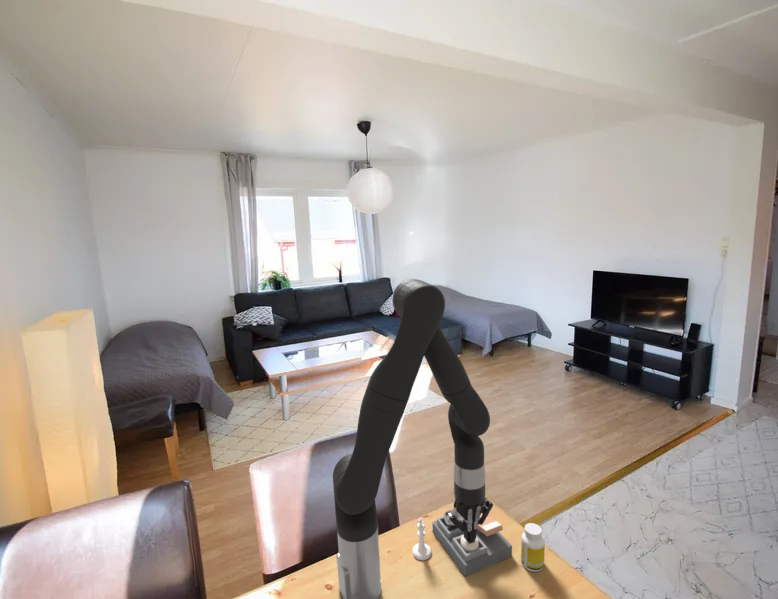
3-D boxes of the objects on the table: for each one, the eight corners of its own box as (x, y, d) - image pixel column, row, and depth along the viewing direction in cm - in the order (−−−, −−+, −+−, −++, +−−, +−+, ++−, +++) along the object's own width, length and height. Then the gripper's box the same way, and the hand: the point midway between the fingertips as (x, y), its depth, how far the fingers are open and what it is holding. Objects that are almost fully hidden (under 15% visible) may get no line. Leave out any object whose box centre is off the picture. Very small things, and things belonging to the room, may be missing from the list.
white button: (467, 556, 99) (467, 549, 98) (457, 544, 103) (457, 537, 102) (482, 550, 100) (482, 543, 100) (471, 538, 104) (471, 531, 104)
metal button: (449, 530, 106) (449, 523, 105) (441, 519, 110) (441, 513, 109) (464, 524, 107) (463, 518, 107) (455, 514, 111) (455, 508, 111)
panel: (465, 576, 97) (465, 560, 96) (432, 531, 112) (432, 517, 111) (511, 556, 102) (512, 540, 102) (474, 515, 117) (474, 501, 116)
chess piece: (424, 563, 101) (423, 528, 99) (408, 554, 104) (407, 520, 102) (434, 550, 105) (434, 516, 103) (419, 542, 108) (417, 509, 106)
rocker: (486, 536, 102) (486, 531, 102) (465, 518, 111) (464, 513, 111) (502, 529, 104) (502, 524, 104) (480, 513, 113) (479, 508, 113)
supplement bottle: (548, 566, 99) (550, 531, 97) (533, 576, 96) (534, 540, 94) (531, 551, 103) (532, 517, 102) (516, 560, 101) (516, 526, 99)
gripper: (454, 495, 92) (455, 561, 95) (501, 479, 97) (501, 541, 100) (437, 477, 99) (439, 539, 102) (482, 463, 104) (482, 522, 107)
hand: (470, 540), depth 101 cm, fingers closed
